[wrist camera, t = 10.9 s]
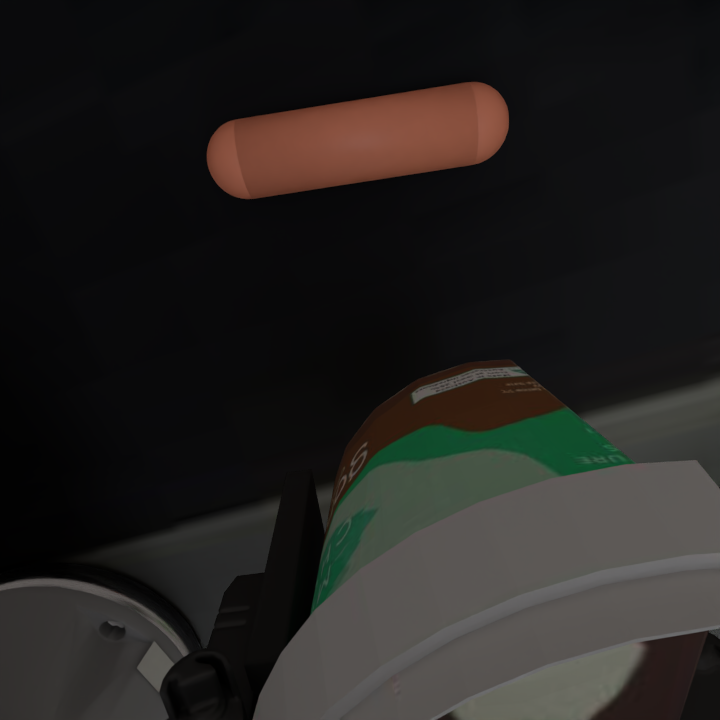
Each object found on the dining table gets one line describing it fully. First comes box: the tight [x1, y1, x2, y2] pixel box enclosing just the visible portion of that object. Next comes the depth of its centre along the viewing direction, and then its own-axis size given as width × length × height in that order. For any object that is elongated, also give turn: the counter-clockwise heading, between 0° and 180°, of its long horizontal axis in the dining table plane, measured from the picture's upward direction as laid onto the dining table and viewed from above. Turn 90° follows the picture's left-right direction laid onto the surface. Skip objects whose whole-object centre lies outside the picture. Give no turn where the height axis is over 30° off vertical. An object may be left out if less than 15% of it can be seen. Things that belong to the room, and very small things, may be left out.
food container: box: [253, 360, 720, 720], centre depth 12 cm, size 12×6×10 cm, turn 179°
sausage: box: [207, 82, 509, 199], centre depth 21 cm, size 12×3×3 cm, turn 98°
